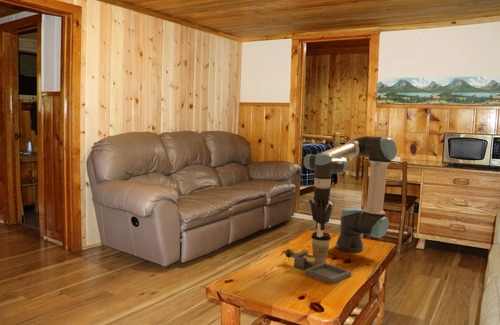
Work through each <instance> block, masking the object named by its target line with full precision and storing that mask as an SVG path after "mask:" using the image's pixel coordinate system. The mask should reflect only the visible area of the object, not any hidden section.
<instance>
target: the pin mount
mask: <svg viewBox="0 0 500 325" xmlns="http://www.w3.org/2000/svg"><path fill="white" fill-rule="evenodd" d="M301 255H305V256H308V257H311V258H313V254H309V251H307V250H305V249H304V250H302V251H298V252H296V255H294V258H293V260H294V261H293V267H294V268H295V269H297V270H300V271H302V272H304V271H305V272H306V269H308V268H311V267H313V266H314V265H312V264H310V263H307V262H306V258H305V257H302V256H301Z"/></svg>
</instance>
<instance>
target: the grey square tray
mask: <svg viewBox="0 0 500 325" xmlns="http://www.w3.org/2000/svg"><path fill="white" fill-rule="evenodd" d="M304 273H305V275H306V276H309V277H311V278H313V279H317V280H318V281H322V282H325V283H326V284H329V285H335V284H337V283H339V282H341V281H343V280H346V279H348V278H350V277H351V276H352V271H351V270H348V269H345V268H343V267H339V266H336V265H334V264H332V263H331V264H330V263H328V262H326V263H322V264H319V265H317V264H315V265H313V267H311V268H308V269H306V270H305V272H304Z"/></svg>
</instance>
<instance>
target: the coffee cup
mask: <svg viewBox="0 0 500 325" xmlns="http://www.w3.org/2000/svg"><path fill="white" fill-rule="evenodd" d="M331 239H332V238H331V235H330V233H327V232H324V231H323V236H322V237H317V231H314V232H312V234H311V244H312V245H311V247H312V248H311V249H312V256H313V258H314V259H316V263H315V264H314V265H319V264H322V263H327V260H328V259H327V258H328V256H329V249H330V240H331Z"/></svg>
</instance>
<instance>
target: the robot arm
mask: <svg viewBox="0 0 500 325" xmlns="http://www.w3.org/2000/svg"><path fill="white" fill-rule="evenodd" d="M397 152H398V151H397V143H396V141H395V140H394V139H393V138H392V137H386V136H372V135H370V136H369V135H367V136H366V135H364V136H360V137H357V138H353V139H350V140H347V141H346V142H345V143H344V144H342V145H339V146H335V147H334V148H330V149H328V150H325V151H322V152H319V153H316V154H312V153H311V154H310V153H309V154H306V155H305V156H304V158H303V166H304V168H306V169H307V170H311V171H312V170H313V171H314V179H313V181H314V182H313V183H314V184H313V185H314V188H313V195H314V196H313V197H312V199H309V200H308V202H309V204H310V209H311V217H312V221H315V229H316V232H317V237H322V236H323V232H324V231H325V226H326V224H328V223H329V221H330V217H331V214H332V210H333V208H334V207H335V204H334V203H332V202H331V199H330V196H331V186H332V185H331V184H332V181H331V180H332V174H341V173H344V172H346V171H347V170H348V168H349V162H348V160H347V159H348V158H357V157H365V158H368V162H369V163H370V167H369V169H370V170H369V179H368V188H367V197H366V198H367V199H366V207H365V208H364V209H362V208H360V207H358V208H357V207H349V208H348V207H347V208H343V209H342V210H341V214H340V225H339V226H340V229H339V236H338V238H337V240H336V243H335V248H336V249H338V250H340V251H343V252H347V253H348V252H349V253H360V252H362V251H364V243H363V238H362V235H366V236H369V237H372V238H382V237H384V236H385V235H386V233H387V231H388V229H389V227H390V221H389V218H388V217H386V212H385V211H384V201H385V193H386V192H385V191H386V183H387V173H388V166H389V165H390V164H391V163H392V160H394V159H395V158H396V156H397Z"/></svg>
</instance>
